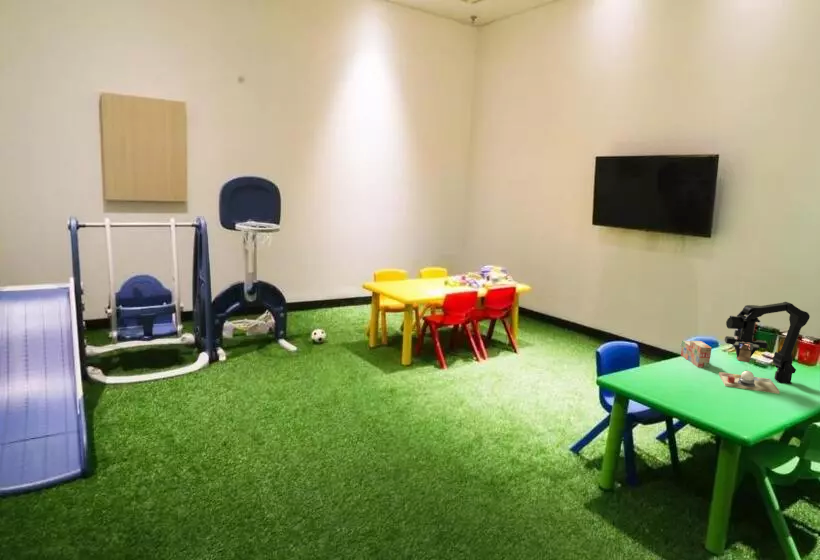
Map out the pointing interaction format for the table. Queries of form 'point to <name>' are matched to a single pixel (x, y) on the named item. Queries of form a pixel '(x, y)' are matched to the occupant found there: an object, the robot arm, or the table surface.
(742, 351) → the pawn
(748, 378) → the dome
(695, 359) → the stack of blocks
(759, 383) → the game board
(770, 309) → the robot arm
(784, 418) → the table surface
